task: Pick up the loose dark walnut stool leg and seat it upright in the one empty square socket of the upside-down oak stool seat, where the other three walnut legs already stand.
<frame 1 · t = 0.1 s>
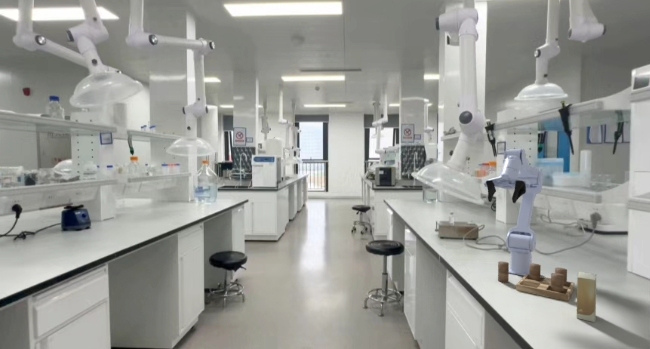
hand: (501, 200, 118), 32 cm above the countertop, tool tilted 50°, fingers open, 7 cm apart
stool seat: (545, 289, 122), on the countertop
loose leg: (503, 281, 130), on the countertop
skincare box: (586, 317, 100), on the countertop
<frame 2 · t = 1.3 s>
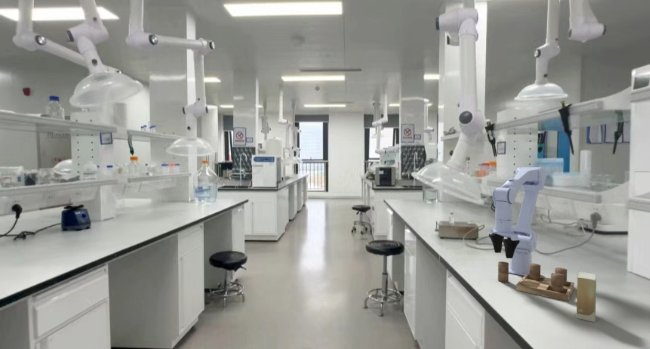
hand: (503, 255, 130), 10 cm above the countertop, tool pointing down, fingers open, 7 cm apart
nothing on the countertop moved.
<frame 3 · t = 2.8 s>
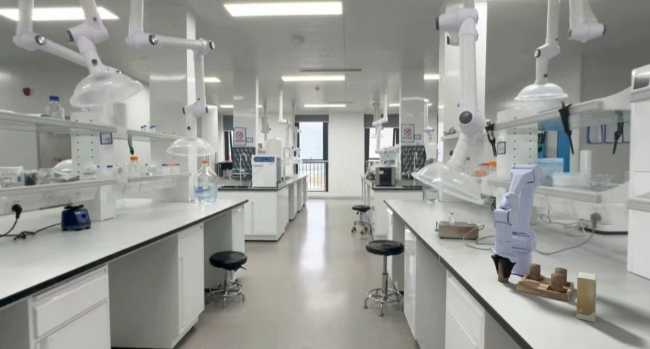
hand: (503, 276, 130), 2 cm above the countertop, tool pointing down, fingers closed on loose leg, 3 cm apart
loose leg: (503, 281, 130), on the countertop, touching gripper
everything else where it was.
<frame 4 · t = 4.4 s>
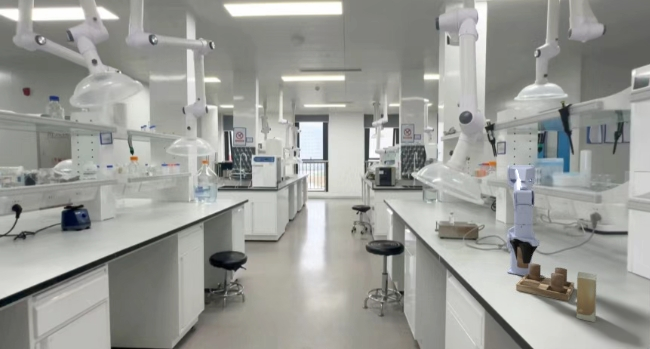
hand: (523, 261, 123), 9 cm above the countertop, tool pointing down, fingers closed on loose leg, 3 cm apart
loose leg: (522, 266, 123), point 7 cm above the countertop, touching gripper
everything else where it was.
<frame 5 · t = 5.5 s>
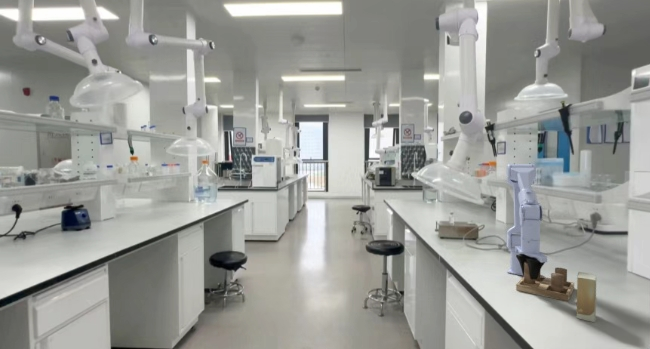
hand: (529, 277, 121), 4 cm above the countertop, tool pointing down, fingers closed on loose leg, 3 cm apart
loose leg: (529, 282, 121), point 3 cm above the countertop, touching gripper
everything else where it was.
when the fingers open (3 cm above the countertop, at t = 6.2 s): loose leg stays where it is, resting in stool seat.
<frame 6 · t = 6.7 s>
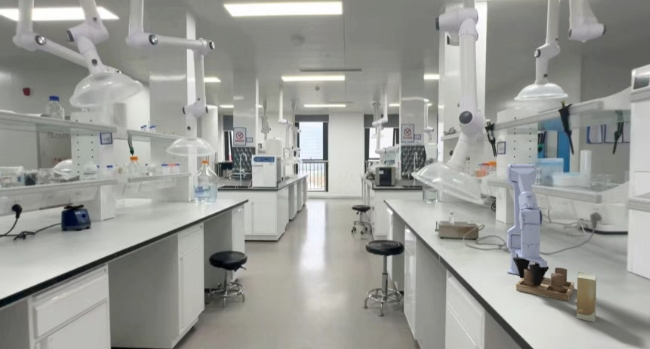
hand: (529, 281, 121), 3 cm above the countertop, tool pointing down, fingers open, 7 cm apart
loose leg: (529, 289, 121), resting in stool seat
everything else where it was.
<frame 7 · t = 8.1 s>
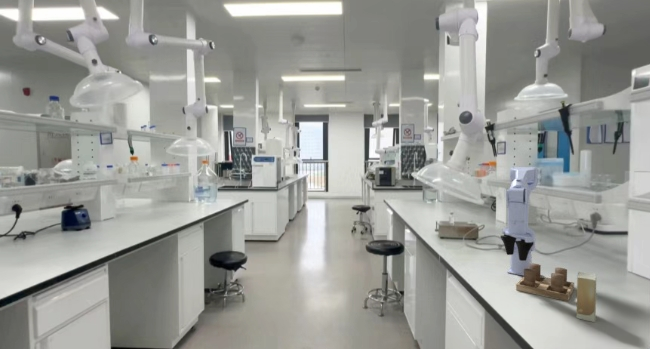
hand: (516, 257, 127), 10 cm above the countertop, tool pointing down, fingers open, 7 cm apart
nothing on the countertop moved.
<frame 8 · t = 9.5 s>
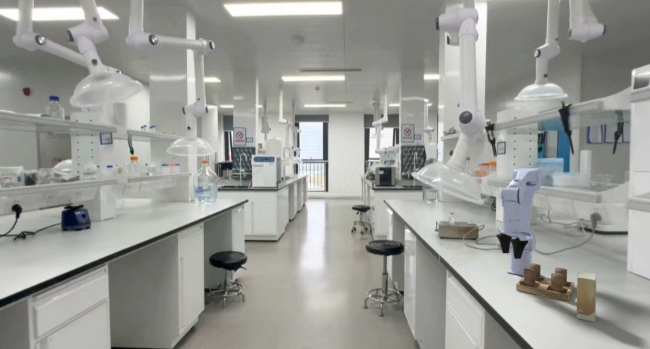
hand: (511, 255, 129), 10 cm above the countertop, tool pointing down, fingers open, 7 cm apart
nothing on the countertop moved.
at the end: loose leg 0.1 cm from the target spot on the stool seat, point 0.0 cm above the stool seat's base; loose leg tilted 0°; the gripper is holding nothing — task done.
